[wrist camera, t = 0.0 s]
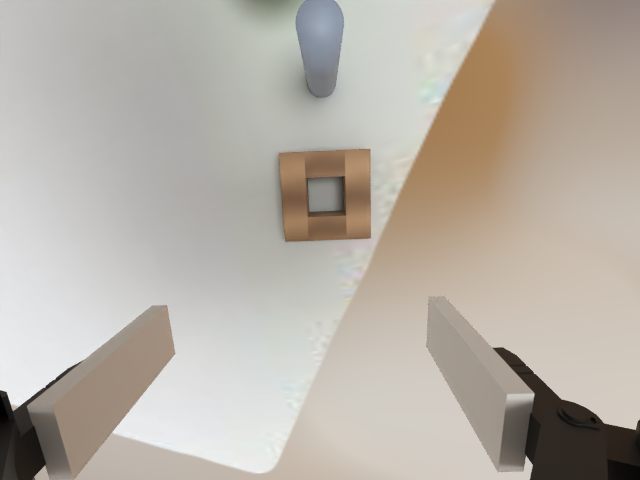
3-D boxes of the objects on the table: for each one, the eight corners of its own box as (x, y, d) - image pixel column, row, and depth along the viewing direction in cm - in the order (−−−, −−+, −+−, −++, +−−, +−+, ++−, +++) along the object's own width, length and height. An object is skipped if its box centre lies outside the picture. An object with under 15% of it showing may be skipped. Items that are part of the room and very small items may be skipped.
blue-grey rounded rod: (306, 66, 38) (294, -4, 22) (335, 65, 38) (343, -7, 22) (308, 98, 39) (297, 51, 23) (336, 96, 39) (344, 48, 23)
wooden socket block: (283, 154, 40) (278, 153, 36) (365, 151, 40) (370, 149, 36) (289, 234, 43) (285, 241, 38) (365, 231, 43) (370, 238, 38)
